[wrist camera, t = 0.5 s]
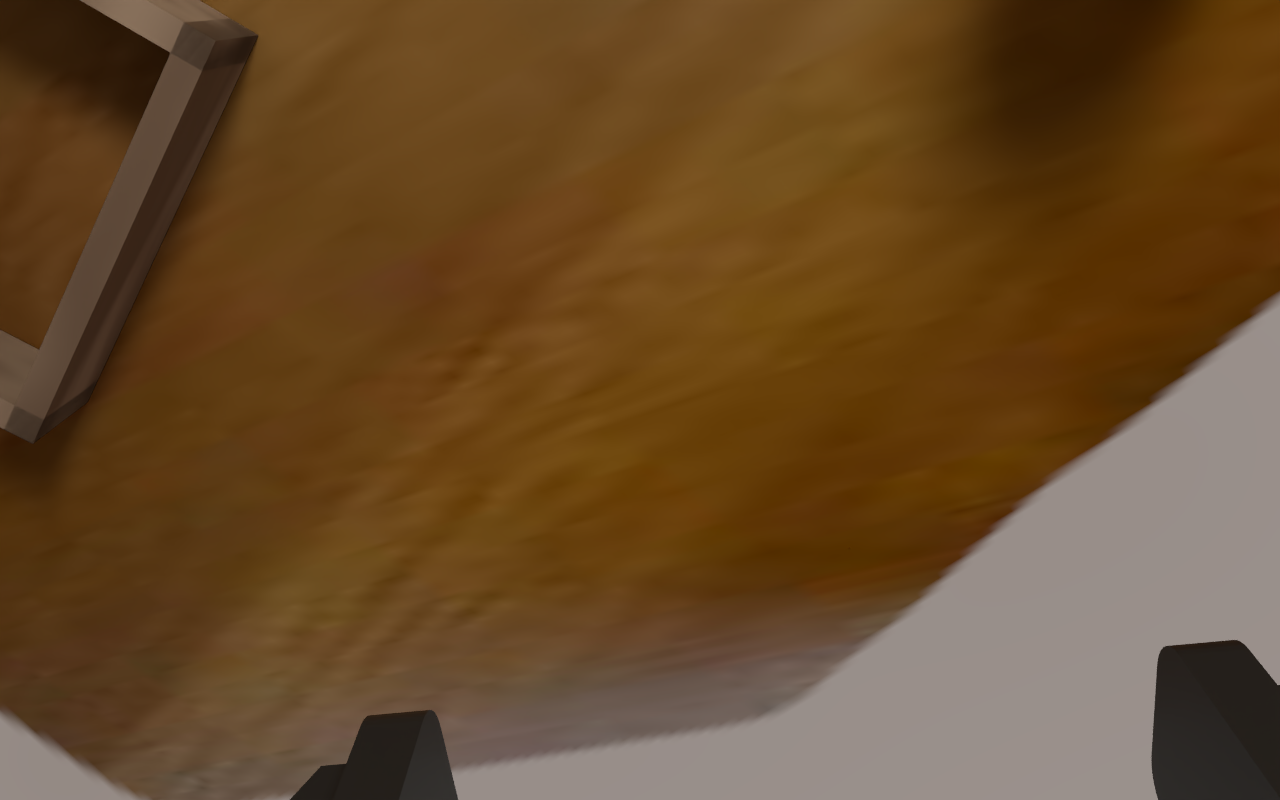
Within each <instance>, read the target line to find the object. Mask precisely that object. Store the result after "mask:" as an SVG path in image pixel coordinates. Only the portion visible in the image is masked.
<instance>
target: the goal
mask: <svg viewBox="0 0 1280 800" xmlns="http://www.w3.org/2000/svg"><path fill="white" fill-rule="evenodd" d="M81 1H82V2H84V3H86V4H87V5H89V6H91V7H93V8H94V9H96V10H98V11H99V12H101V13H103V14H105V15H106V16H108V17H110V18H112V19H113V20H115V21H117V22H118V23H120V24H122V25H124V26H125V27H127V28H129V29H130V30H132V31H134V32H136V33H137V34H139V35H141V36H143V37H144V38H146V39H148V40H149V41H151V42H153V43H155V44H156V45H158V46H160V47H161V48H163V49H165V50H167V51H168V52H170V55H169V58H168V60H167V62H166V64H165V67H164V69H163V71H162V73H161V76H160V78H159V80H158V82H157V85H156V87H155V89H154V91H153V94H152V96H151V98H150V101H149V103H148V105H147V107H146V110H145V112H144V114H143V116H142V119H141V121H140V123H139V125H138V128H137V130H136V132H135V134H134V137H133V139H132V141H131V143H130V146H129V148H128V150H127V153H126V155H125V157H124V159H123V162H122V164H121V166H120V168H119V171H118V173H117V175H116V177H115V180H114V182H113V184H112V186H111V189H110V191H109V193H108V196H107V198H106V200H105V202H104V205H103V207H102V209H101V211H100V214H99V216H98V218H97V220H96V223H95V225H94V227H93V229H92V232H91V234H90V236H89V239H88V241H87V243H86V245H85V248H84V250H83V252H82V254H81V257H80V259H79V261H78V263H77V266H76V268H75V270H74V272H73V275H72V277H71V279H70V281H69V284H68V286H67V288H66V291H65V293H64V295H63V297H62V300H61V302H60V304H59V306H58V309H57V311H56V313H55V315H54V318H53V320H52V322H51V324H50V327H49V329H48V331H47V334H46V336H45V338H44V340H43V343H42V345H41V347H40V349H39V350H38V349H37V348H35V347H33V346H31V345H29V344H27V343H25V342H23V341H21V340H19V339H17V338H15V337H13V336H11V335H9V334H8V333H6V332H4V331H2V330H0V428H2V429H4V430H6V431H8V432H10V433H12V434H14V435H16V436H18V437H20V438H22V439H24V440H26V441H28V442H30V443H32V444H33V443H35V442H36V441H37V440H38V439H40V438H41V437H42V436H44V435H45V434H46V433H48V432H49V431H50V430H52V429H53V428H54V427H56V426H57V425H58V424H60V423H61V422H62V421H63V420H65V419H66V418H67V417H69V416H70V415H71V414H73V413H74V412H75V411H77V410H78V409H79V408H81V407H82V406H83V405H85V404H86V403H87V402H88V400H89V398H90V396H91V394H92V392H93V389H94V387H95V385H96V383H97V381H98V379H99V377H100V374H101V372H102V370H103V368H104V366H105V364H106V361H107V359H108V357H109V355H110V353H111V351H112V349H113V346H114V344H115V342H116V340H117V338H118V336H119V334H120V331H121V329H122V327H123V325H124V323H125V321H126V318H127V316H128V314H129V312H130V310H131V308H132V306H133V303H134V301H135V299H136V297H137V295H138V293H139V291H140V288H141V286H142V284H143V282H144V280H145V278H146V275H147V273H148V271H149V269H150V267H151V265H152V263H153V260H154V258H155V256H156V254H157V252H158V250H159V248H160V245H161V243H162V241H163V239H164V237H165V235H166V232H167V230H168V228H169V226H170V224H171V222H172V220H173V217H174V215H175V213H176V211H177V209H178V207H179V205H180V202H181V200H182V198H183V196H184V194H185V192H186V190H187V187H188V185H189V183H190V181H191V179H192V177H193V174H194V172H195V170H196V168H197V166H198V164H199V162H200V159H201V157H202V155H203V153H204V151H205V149H206V147H207V144H208V142H209V140H210V138H211V136H212V134H213V131H214V129H215V127H216V125H217V123H218V121H219V119H220V116H221V114H222V112H223V110H224V108H225V106H226V104H227V101H228V99H229V97H230V95H231V93H232V91H233V88H234V86H235V84H236V82H237V80H238V78H239V76H240V73H241V71H242V69H243V67H244V65H245V63H246V61H247V58H248V56H249V54H250V52H251V50H252V48H253V45H254V43H255V41H256V39H257V37H258V35H257V34H255V33H254V32H252V31H250V30H249V29H247V28H245V27H244V26H242V25H240V24H239V23H237V22H235V21H233V20H232V19H230V18H228V17H227V16H225V15H223V14H222V13H220V12H218V11H217V10H215V9H213V8H212V7H210V6H208V5H206V4H205V3H203V2H201V1H200V0H81Z"/></svg>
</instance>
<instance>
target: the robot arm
mask: <svg viewBox="0 0 1280 800" xmlns="http://www.w3.org/2000/svg"><path fill="white" fill-rule="evenodd" d="M1152 773H1153V779H1154V785H1155V789H1156V794H1157V797H1158V800H1280V685H1277V684H1276V683H1275V681H1274V680H1273V679H1272V678H1271V676H1270V675H1269V674H1268V673H1267V671H1266V670H1265V669H1264V668H1263V666H1262V665H1261V664H1260V663H1259V662H1258V660H1257V659H1256V658H1255V656H1254V655H1253V654H1252V653H1251V652H1250V650H1249V649H1248V648H1247V647H1246V646H1245V645H1244V644H1243V643H1241V642H1240V641H1237V640H1229V641H1218V642H1207V643H1197V644H1185V645H1173V646H1166V647H1163V649H1162V650H1161V652H1160V654H1159V658H1158V664H1157V679H1156V695H1155V711H1154V726H1153V742H1152ZM290 800H458V798H457V794H456V789H455V785H454V781H453V777H452V772H451V768H450V764H449V760H448V756H447V752H446V747H445V743H444V739H443V735H442V731H441V727H440V723H439V720H438V718H437V716H436V714H435V712H434V711H432V710H425V711H414V712H403V713H392V714H381V715H370V716H367V717H366V718H365V719H364V720H363V722H362V724H361V727H360V729H359V732H358V735H357V737H356V740H355V742H354V745H353V748H352V750H351V753H350V756H349V758H348V761H347V763H346V764H339V765H327V766H321V767H320V768H319V769H318V770H317V771H316V772H315V773H314V774H313V776H312V777H311V778H310V779H309V780H308V781H307V782H306V783H305V784H304V785H303V786H302V787H301V788H300V790H299V791H298V792H297V793H296V794H295V795H294V796H293V797H292V798H291V799H290Z"/></svg>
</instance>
